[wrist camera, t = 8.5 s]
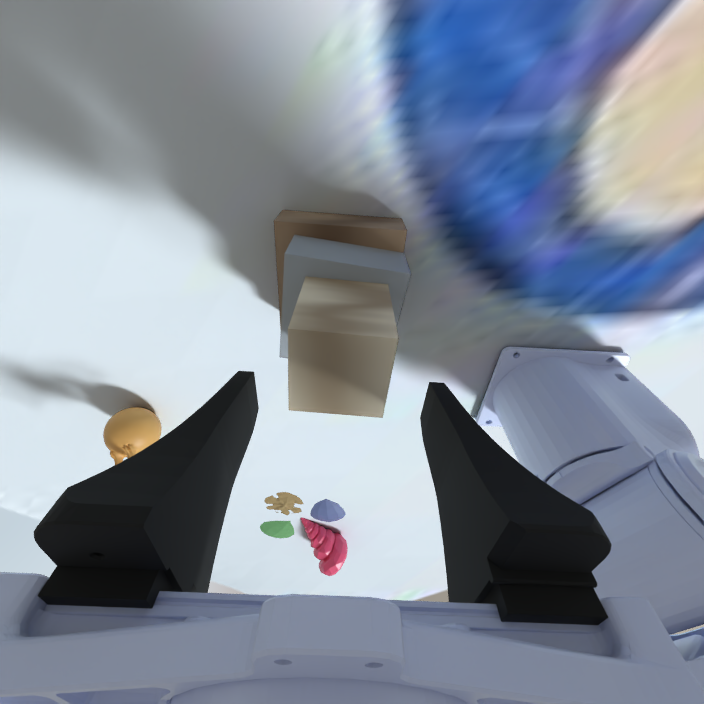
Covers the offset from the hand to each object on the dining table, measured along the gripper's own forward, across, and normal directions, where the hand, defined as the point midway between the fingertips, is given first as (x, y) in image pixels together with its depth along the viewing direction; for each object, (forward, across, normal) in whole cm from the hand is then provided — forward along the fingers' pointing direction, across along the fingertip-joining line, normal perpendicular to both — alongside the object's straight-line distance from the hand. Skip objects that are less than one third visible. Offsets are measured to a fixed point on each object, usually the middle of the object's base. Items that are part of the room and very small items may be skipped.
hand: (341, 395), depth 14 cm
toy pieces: (+11, +3, +29) cm, 31 cm away
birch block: (+5, 0, -1) cm, 5 cm away
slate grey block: (+8, 0, -1) cm, 8 cm away
